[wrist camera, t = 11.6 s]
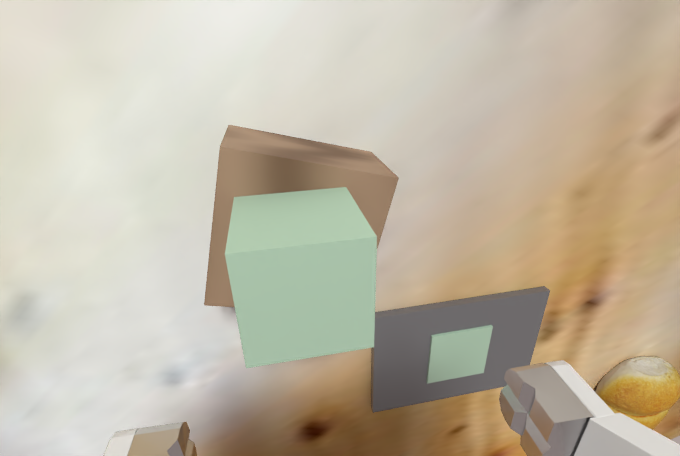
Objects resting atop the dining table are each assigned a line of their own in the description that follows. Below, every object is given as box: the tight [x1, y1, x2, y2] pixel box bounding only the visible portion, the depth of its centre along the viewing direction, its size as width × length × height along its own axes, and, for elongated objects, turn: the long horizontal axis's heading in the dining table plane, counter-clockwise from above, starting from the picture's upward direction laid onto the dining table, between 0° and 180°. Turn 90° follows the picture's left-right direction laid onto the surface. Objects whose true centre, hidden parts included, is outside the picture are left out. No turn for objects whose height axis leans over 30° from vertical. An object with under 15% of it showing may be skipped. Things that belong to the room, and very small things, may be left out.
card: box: [371, 286, 550, 412], centre depth 30 cm, size 14×10×1 cm
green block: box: [225, 187, 377, 368], centre depth 15 cm, size 5×5×5 cm
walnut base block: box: [204, 125, 398, 307], centre depth 20 cm, size 8×8×5 cm
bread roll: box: [595, 356, 680, 430], centre depth 36 cm, size 8×9×4 cm
